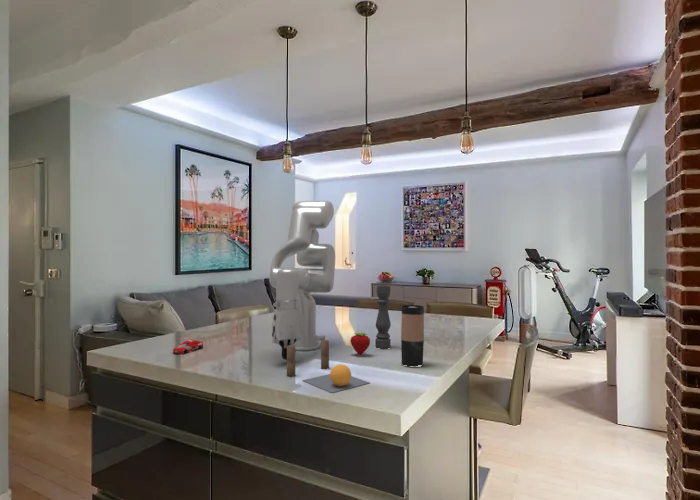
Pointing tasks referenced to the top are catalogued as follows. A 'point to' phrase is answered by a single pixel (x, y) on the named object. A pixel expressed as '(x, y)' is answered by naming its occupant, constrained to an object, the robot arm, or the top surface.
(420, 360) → the travel mug
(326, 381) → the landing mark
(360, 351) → the strawberry
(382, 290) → the candle holder
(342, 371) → the ball
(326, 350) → the post
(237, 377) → the top surface
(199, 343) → the race car
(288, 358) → the post
